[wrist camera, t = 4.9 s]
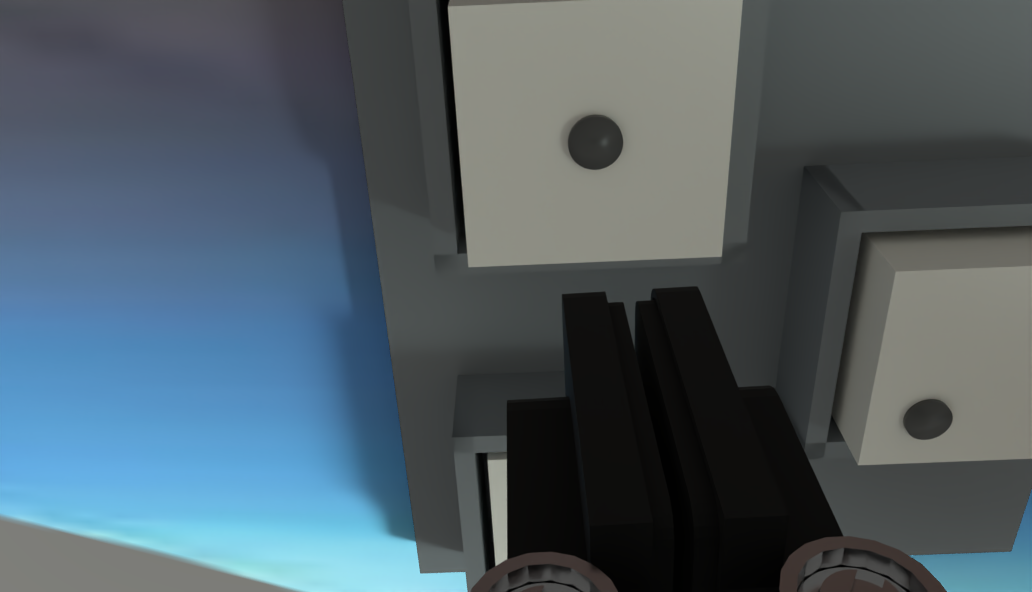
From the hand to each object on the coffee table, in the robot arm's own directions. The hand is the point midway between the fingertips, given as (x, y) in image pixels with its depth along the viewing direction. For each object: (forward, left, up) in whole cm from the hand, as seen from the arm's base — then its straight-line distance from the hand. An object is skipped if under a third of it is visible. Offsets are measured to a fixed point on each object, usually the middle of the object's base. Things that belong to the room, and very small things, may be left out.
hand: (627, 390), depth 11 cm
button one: (0, -1, -8) cm, 8 cm away
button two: (-9, +4, -8) cm, 13 cm away
